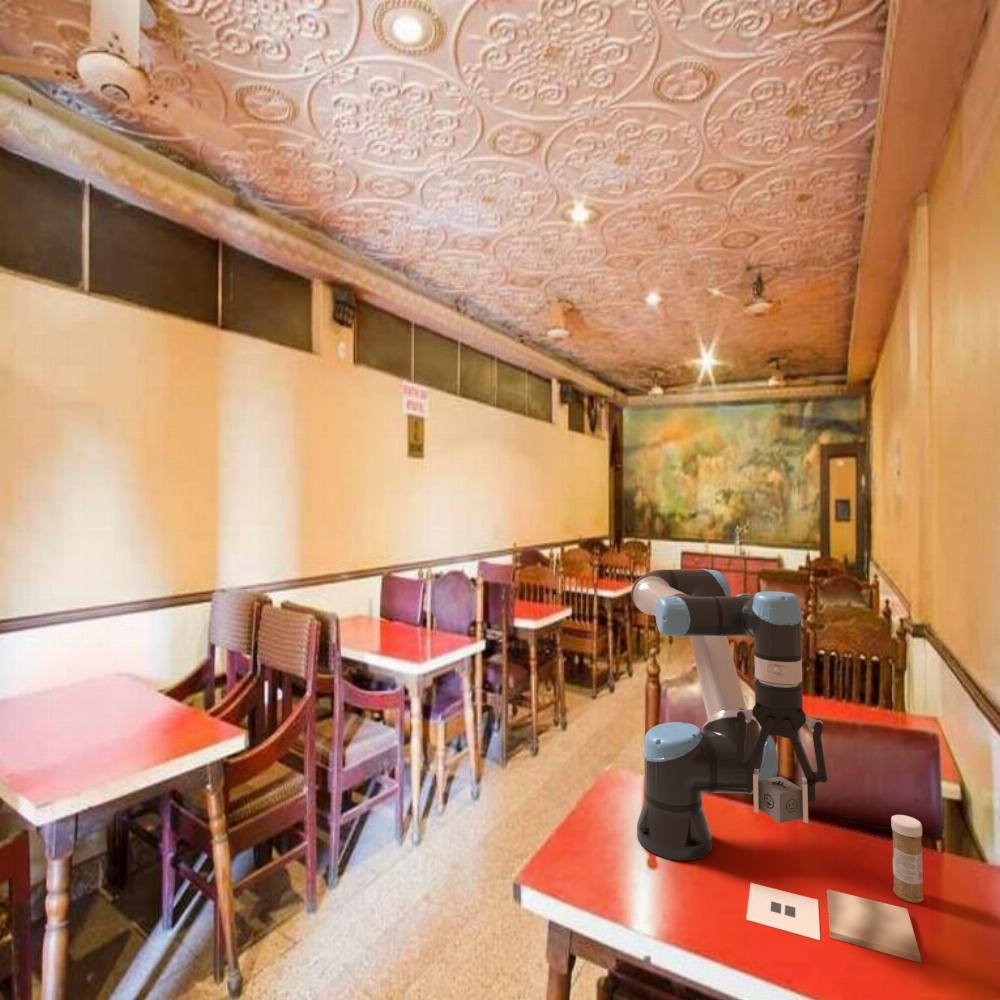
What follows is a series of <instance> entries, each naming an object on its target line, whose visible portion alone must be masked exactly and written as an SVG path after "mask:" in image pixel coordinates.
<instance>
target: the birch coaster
mask: <svg viewBox="0 0 1000 1000" xmlns="http://www.w3.org/2000/svg"><path fill="white" fill-rule="evenodd" d="M826 899H827V900H826V901H827V912H828V913H829V914H828V924H829V926H828V927H829V937H830V939H834V940H837V941H841V942H845V943H848V944H852V945H856V946H859V947H862V948H865V949H869V950H873V951H877V952H881V953H884V954H889V955H891V956H895V957H899V958H902V959H907V960H909V961H914V962H917V963H921V961H922V960H921V954H920V953H921V952H920V950H919V947H918V942H917V940H916V935H915V932H914V928H913V925H912V924H913V923H912V921H911V918H910V915H909V911H908V908H905V907H901V906H897V905H892V904H889V903H885V902H881V901H878V900H873V899H868V898H865V897H860V896H856V895H852V894H849V893H848V894H847V893H845V892H840V891H836V890H832V889H829V888H828V889H826Z"/></svg>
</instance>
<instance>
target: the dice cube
mask: <svg viewBox="0 0 1000 1000" xmlns="http://www.w3.org/2000/svg"><path fill="white" fill-rule="evenodd" d="M758 786H759V811H761V812H763V813H764V814H765V815H767V816H768V817H770V818H772V819H773V820H774V821H776V822H777V823H778V824H784V823H788V822H792V821H793V822H794V821H798V820H803V789H802V788H801V787H800V786H799V785H796V784H795V783H793V782H792V781H790V780H788V779H786V778H785V777H783V776H777V777H775V778H769V779H763V780H758Z"/></svg>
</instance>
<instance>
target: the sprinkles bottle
mask: <svg viewBox="0 0 1000 1000" xmlns="http://www.w3.org/2000/svg"><path fill="white" fill-rule="evenodd" d="M890 821H891V822H890V824H891V831H892V873H893V887H892V888H893V892H894V894H895V896H897V897H898V898H899V899H902V900H903V901H905V902H908V903H915V904H918V903H922V902H923V901H924V900H925V899H924V895H923V891H924V889H923V888H924V887H923V882H924V881H923V880H924V878H923V876H924V874H923V851H922V837H923V825H922V823H921V822H920V821H919V820H918V819H916V818H914V817H913V816H908V815H904V814H895V815H892V816H891V818H890Z"/></svg>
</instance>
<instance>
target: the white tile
mask: <svg viewBox="0 0 1000 1000" xmlns="http://www.w3.org/2000/svg"><path fill="white" fill-rule="evenodd" d="M749 886H750V887H749V895H748V902H747V910H746V917H745V918H746V919H745V920H746V921H749V922H752V923H755V924H759V925H763V926H766V927H769V928H774V929H777V930H779V931H785V932H788V933H791V934H795V935H797V936H798V935H799V936H802V937H805V938H809V939H813V940H816V941H821V931H820V913H819V900H818V899H816V898H811V897H808V896H804V895H799V894H795V893H791V892H788V891H785V890H784V891H783V890H780V889H777V888H772V887H768V886H765V885H760V884H757V883H753V882H750V885H749Z"/></svg>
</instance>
